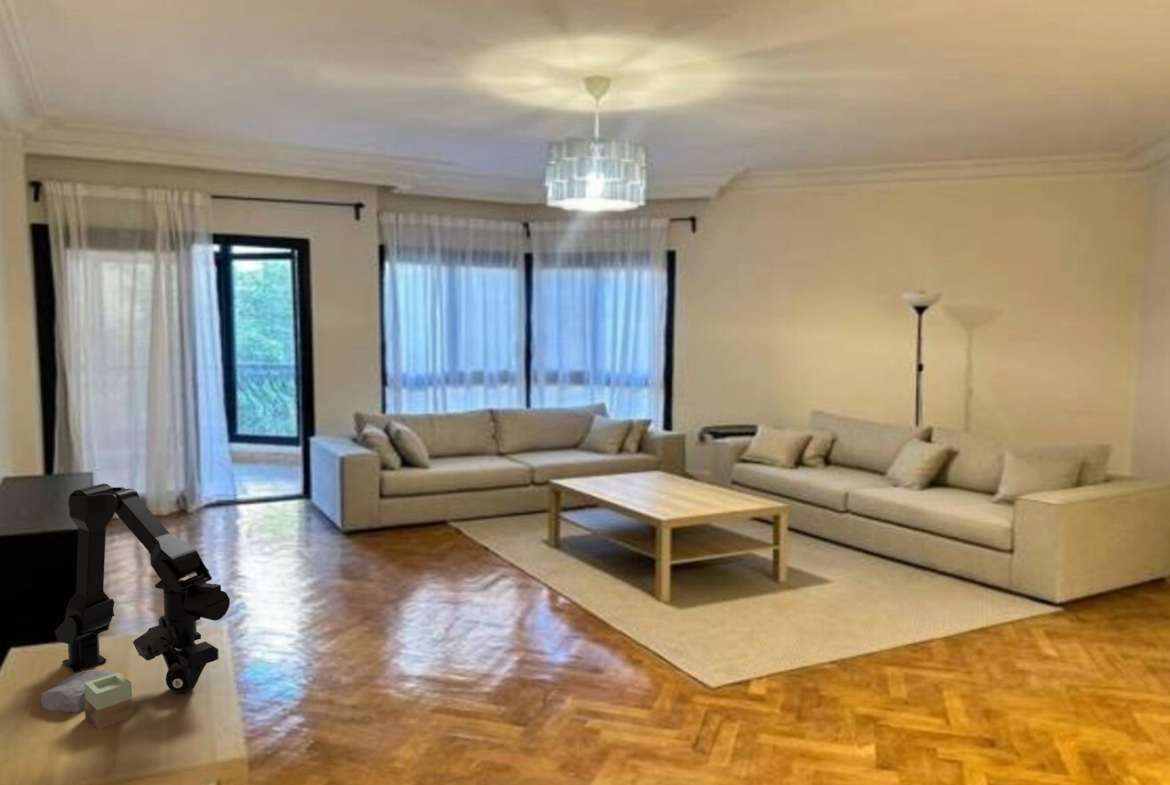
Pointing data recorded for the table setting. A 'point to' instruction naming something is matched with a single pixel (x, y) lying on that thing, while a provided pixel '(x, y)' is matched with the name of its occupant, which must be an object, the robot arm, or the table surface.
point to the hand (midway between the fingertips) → (182, 684)
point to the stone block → (71, 692)
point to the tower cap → (108, 691)
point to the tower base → (108, 713)
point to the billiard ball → (176, 679)
